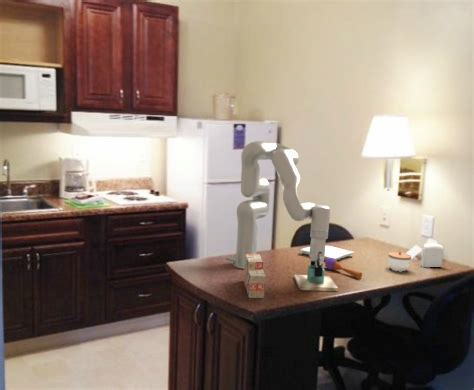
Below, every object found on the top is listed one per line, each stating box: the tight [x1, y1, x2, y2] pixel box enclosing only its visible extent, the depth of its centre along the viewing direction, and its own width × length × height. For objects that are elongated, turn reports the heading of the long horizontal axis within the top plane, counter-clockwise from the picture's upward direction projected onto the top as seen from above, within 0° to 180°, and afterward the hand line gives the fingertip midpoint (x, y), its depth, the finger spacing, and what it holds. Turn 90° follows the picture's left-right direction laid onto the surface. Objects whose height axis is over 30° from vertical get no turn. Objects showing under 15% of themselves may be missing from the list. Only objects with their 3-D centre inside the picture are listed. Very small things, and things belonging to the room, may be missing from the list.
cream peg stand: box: [293, 263, 339, 292], centre depth 216 cm, size 16×16×10 cm
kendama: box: [324, 258, 363, 280], centre depth 236 cm, size 6×6×20 cm
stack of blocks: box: [243, 253, 267, 299], centre depth 205 cm, size 21×6×12 cm, turn 4°
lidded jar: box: [387, 251, 412, 273], centre depth 246 cm, size 11×11×9 cm
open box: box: [306, 264, 326, 284], centre depth 216 cm, size 6×6×6 cm
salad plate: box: [300, 244, 355, 261], centre depth 266 cm, size 21×21×3 cm
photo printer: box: [420, 242, 444, 268], centre depth 255 cm, size 10×4×12 cm, turn 89°
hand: (315, 272), depth 216 cm, fingers open, 8 cm apart
